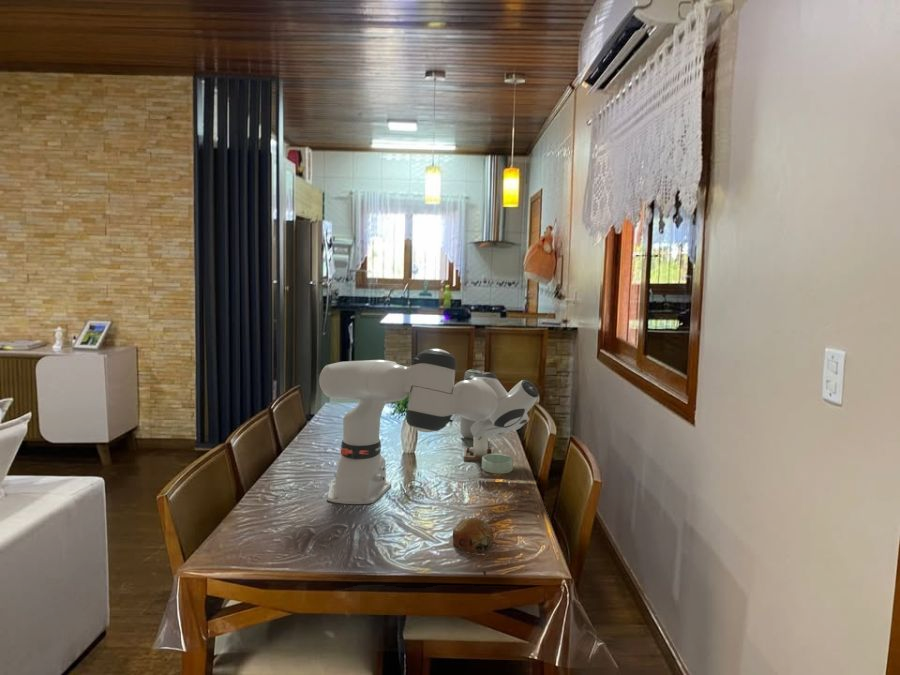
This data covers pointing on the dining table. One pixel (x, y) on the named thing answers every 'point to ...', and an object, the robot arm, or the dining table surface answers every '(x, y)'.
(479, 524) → the bread roll
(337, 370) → the robot arm
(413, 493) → the dining table surface
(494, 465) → the bowl
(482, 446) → the jar
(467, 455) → the pebble tray
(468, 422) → the grey bottle
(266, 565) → the dining table surface
